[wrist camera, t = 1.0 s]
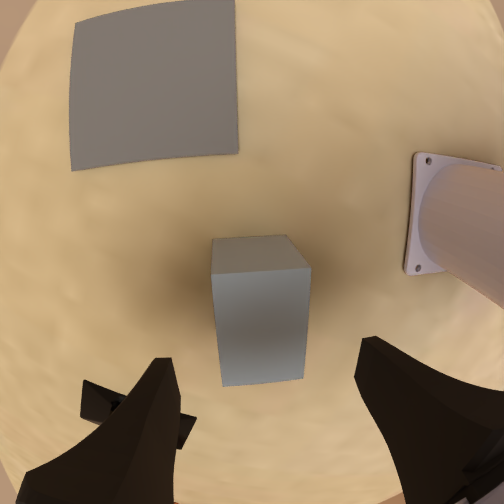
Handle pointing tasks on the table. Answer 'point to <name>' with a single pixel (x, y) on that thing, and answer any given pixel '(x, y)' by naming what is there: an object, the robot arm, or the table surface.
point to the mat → (154, 84)
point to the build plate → (106, 401)
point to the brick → (260, 309)
